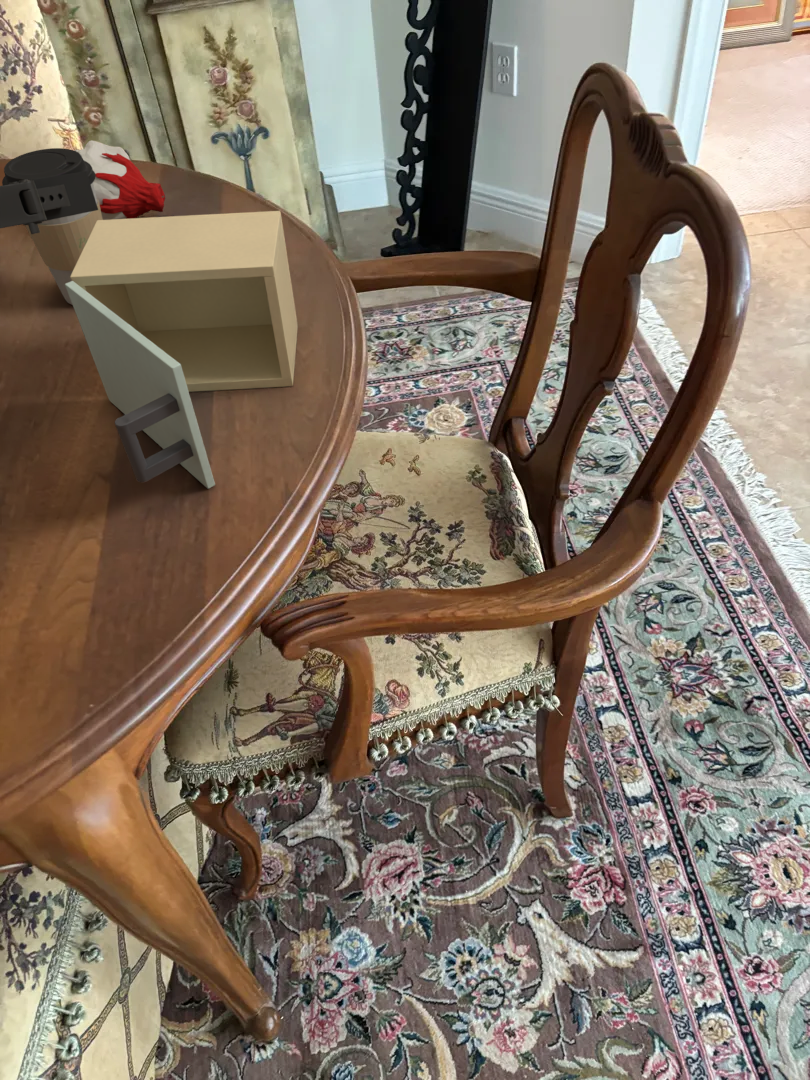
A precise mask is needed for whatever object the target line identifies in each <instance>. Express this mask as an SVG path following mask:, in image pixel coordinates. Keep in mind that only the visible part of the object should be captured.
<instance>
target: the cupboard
mask: <svg viewBox="0 0 810 1080" xmlns="http://www.w3.org/2000/svg"><path fill="white" fill-rule="evenodd" d="M287 252H288V251H287V244H286V239H285V231H284V225H283V218H282V211H281V210H269V211H268V210H267V211H249V212H231V213H230V212H229V213H211V214H209V213H208V214H189V216H188V215H174V216H173V215H172V216H152V217H137V218H132V219H113V220H97V222H96V224H95V226H94V228H93V230H92V232H91V234H90V236H89V238H88V240H87V243H86V245H85V247H84V249H83V251H82V253H81V255H80V257H79V259H78V261H77V263H76V266H75V268H74V270H73V272H72V274H71V276H70V278H71V280H72V281H73V282H75V283H76V284H77V285H79V286H80V287H81V288H83V289H84V290H85V291H86V292H88V293H89V294H90V295H92V296H93V297H94V298H95V299H97V300H98V301H99V302H101V303H102V304H103V305H105V306H106V307H107V308H108V309H110V310H111V311H112V312H114V313H115V314H116V315H117V316H119V317H120V318H121V319H123V320H124V321H125V322H127V323H128V324H129V325H130V326H132V327H133V328H134V329H136V330H137V331H138V332H139V333H141V334H142V335H143V336H145V337H146V338H147V339H149V340H150V341H151V342H152V343H154V344H155V345H156V346H158V347H159V348H160V349H161V350H163V351H164V352H165V353H167V354H168V355H169V356H171V357H172V358H173V359H174V360H176V361H177V362H178V363H180V364H181V367H182V371H183V374H184V378H185V381H186V385H187V388H188V391H189V393H191V392H192V393H193V392H208V391H209V392H210V391H227V390H246V389H248V390H249V389H263V388H264V389H265V388H266V389H267V388H281V387H284V388H285V387H294V378H295V377H294V376H295V368H296V367H295V365H296V352H297V342H298V341H297V340H298V330H299V325H298V324H299V323H298V318H297V317H298V316H297V312H296V311H297V310H296V305H295V298H294V297H295V296H294V291H293V285H292V277H291V272H290V265H289V258H288V253H287Z"/></svg>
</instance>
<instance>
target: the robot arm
mask: <svg viewBox="0 0 810 1080" xmlns="http://www.w3.org/2000/svg"><path fill="white" fill-rule="evenodd" d="M96 210H98V207H97V204H96V201H95V197H94V194H93V191H92V188H91V184H90V181H89V178H88V175H87V171H84V172H78V173H71V174H64V175H58V176H51V177H45V178H38V179H31V180H28V179H24V180H20V181H18V182H17V181H16V182H10V183H9V185H0V229H5V228H11V227H16V226H20V225H23V226H25V225H28V226H29V229H30V232H31V234H36V233H40V230H39V227H38V224H40V223H42V222H43V221H47V220H52V219H57V218H62V217H67V216H72V215H77V214H81V213H86V212H91V211H96Z"/></svg>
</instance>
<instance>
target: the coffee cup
mask: <svg viewBox="0 0 810 1080" xmlns="http://www.w3.org/2000/svg"><path fill="white" fill-rule="evenodd" d="M74 150H75V149H69V148H62V147H54V148H43V149H37V150H33V151H29V152H25V153H23V154H21V155H17V156H16V157H14V158H12V159H10V160H9V161H8V162H6V164H5V166H4V167H3V174H4V177H2V181H1V186H3V185H9V183H10V182H16V181H17V182H18V181H20V180H24V179H28V180H31V179H38V178H45V177H51V176H58V175H64V174H71V173H78V172H84V171H87V175H88V178H89V181H90V184H91V188H92V191H93V194H94V197H95V201H96V204H97V207H98V210H96V211H91V212H86V213H81V214H77V215H72V216H67V217H62V218H57V219H52V220H47V221H43V222H42V223H40V224H38V227H39V230H40V233H36V234H31V232H30V229H29V226H28V225H24V227H25V228H26V230H27V232H28V234H29V236H30V238H31V240H32V242H33V244H34V245H35V248H36V250H37V251H38V253H39V255H40V258H41V259H42V262H43V263H44V264H45V265H46V267H47V268H48V270H49V272H50V274H51V276H52V277H53V279H54V281H55V283H56V285H57V288H58V289H59V291H60V293H61V295H62V297H63V298H64V300H65V302H66V303H67V304H69V305H72V302H71V299H70V297H69V294H68V291H67V289H66V286H65V284H66V283H68V282H71V281H72V280H71V278H70V276H71V274H72V272H73V270H74V268H75V266H76V263H77V261H78V259H79V257H80V255H81V253H82V251H83V249H84V247H85V245H86V243H87V240H88V238H89V236H90V234H91V232H92V230H93V228H94V226H95V224H96V222H97V220H103V219H102V214H101V209H100V205H99V201H98V199H97V198H96V193H95V189H94V184H93V182H94V180H95V177H96V175H95V172H94V171H93V169H92V166H91V165H90V164H89V163H88V162H86V161H84V160H83V158H82V156H81V155H80V154H79V153H78V152H76V151H74ZM72 306H73V305H72Z"/></svg>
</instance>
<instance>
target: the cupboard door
mask: <svg viewBox="0 0 810 1080" xmlns="http://www.w3.org/2000/svg"><path fill="white" fill-rule="evenodd" d="M65 286H66V289H67V291H68V294H69V297H70V299H71V302H72V307H73V310H74V312H75V315H76V317H77V320H78V323H79V325H80V329H81V330H82V333H83V336H84V338H85V341H86V344H87V346H88V350H89V351H90V354H91V357H92V359H93V362H94V365H95V367H96V370H97V373H98V375H99V378H100V380H101V383H102V385H103V388H104V391H105V393H106V396H107V398H108V401H109V402H111V403H112V405H114V407H116V408H117V409H118V410H120V412H122V413H123V415H121V416H119V417H117V418H116V419H115V421H114V425H115V428H116V430H117V434H118V436H119V438H120V441H121V444H122V445H123V446H122V447H123V448H124V451H125V453H126V456H127V459H128V462H129V464H130V467H131V469H132V472H133V474H134V477H135V480H136V481H137V482H138V483H147V482H148V481H150V480H152V479H154V478H156V477H158V476H159V475H161V474H163V473H165V472H166V471H168V470H171V469H172V468H174V467H176V466H177V465H181V466H182V467H183V468H184V469H185V470H187V472H189V474H191V475H192V476H193V477H194V478H195V479H196V480H197V481H199V482H200V483H201V484H202V485H203V486H204V487H205V488H206V489H208V490H209V489H211V488H213V487H215V486H216V482H215V479H214V476H213V471H212V468H211V465H210V461H209V457H208V454H207V451H206V447H205V445H204V440H203V437H202V434H201V433H202V432H201V430H200V427H199V423H198V420H197V416H196V413H195V409H194V406H193V402H192V398H191V395H190V392H189V391H188V388H187V385H186V381H185V378H184V374H183V371H182V367H181V364H180V363H178V362H177V361H176V360H174V359H173V358H172V357H171V356H169V355H168V354H167V353H165V352H164V351H163V350H161V349H160V348H159V347H158V346H156V345H155V344H154V343H152V342H151V341H150V340H149V339H147V338H146V337H145V336H143V335H142V334H141V333H139V332H138V331H137V330H136V329H134V328H133V327H132V326H130V325H129V324H128V323H127V322H125V321H124V320H123V319H121V318H120V317H119V316H117V315H116V314H115V313H114V312H112V311H111V310H110V309H108V308H107V307H106V306H105V305H103V304H102V303H101V302H99V301H98V300H97V299H95V298H94V297H93V296H92V295H90V294H89V293H88V292H86V291H85V290H84V289H83V288H81V287H80V286H79V285H77V284H76V283H75V282H73V281H71V282H68V283H66V284H65ZM141 431H143V432H144V433H145V434H146V435H147V436H148V437H149V438H150V439H151V440H153V442H155V443H156V445H157V444H158V446H159V447H160V448H162V449H161V450H159V451H158V452H156V453H154V454H152V455H150V456H148V457H147V458H145V455H144V453H143V450H142V447H141V445H140V441H139V439H138V437H137V433H139V432H141Z"/></svg>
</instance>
